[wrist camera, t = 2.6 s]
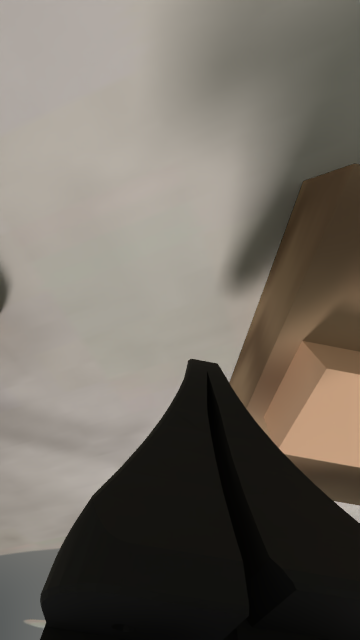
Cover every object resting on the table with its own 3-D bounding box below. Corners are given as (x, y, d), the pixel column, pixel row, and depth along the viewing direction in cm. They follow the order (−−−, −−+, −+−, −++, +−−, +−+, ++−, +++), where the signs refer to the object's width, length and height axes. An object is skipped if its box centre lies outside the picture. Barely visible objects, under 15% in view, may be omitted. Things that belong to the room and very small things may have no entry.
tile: (351, 433, 12) (378, 471, 10) (263, 416, 12) (276, 452, 10) (408, 360, 10) (456, 393, 8) (301, 340, 10) (326, 368, 8)
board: (350, 457, 18) (384, 509, 15) (211, 432, 18) (215, 479, 15) (543, 231, 10) (701, 236, 7) (303, 181, 10) (354, 163, 7)
